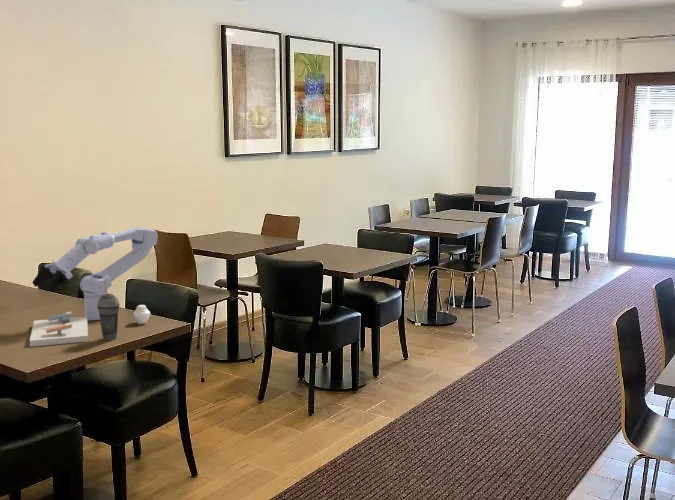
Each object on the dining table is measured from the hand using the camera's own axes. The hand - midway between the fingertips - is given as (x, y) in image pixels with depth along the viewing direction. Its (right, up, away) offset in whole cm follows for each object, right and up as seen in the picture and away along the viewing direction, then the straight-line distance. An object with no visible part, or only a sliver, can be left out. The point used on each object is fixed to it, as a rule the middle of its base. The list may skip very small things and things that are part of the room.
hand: (40, 286), depth 242 cm
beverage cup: (+27, -17, -8) cm, 33 cm away
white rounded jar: (+33, -14, +12) cm, 38 cm away
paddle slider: (+10, -14, -2) cm, 17 cm away
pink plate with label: (+11, -13, -10) cm, 20 cm away
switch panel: (+8, -16, -2) cm, 18 cm away
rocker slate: (+5, -11, +5) cm, 13 cm away
